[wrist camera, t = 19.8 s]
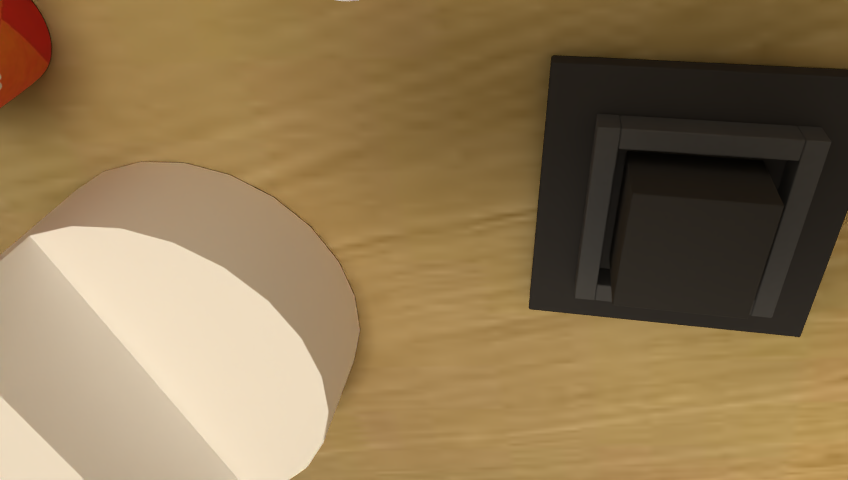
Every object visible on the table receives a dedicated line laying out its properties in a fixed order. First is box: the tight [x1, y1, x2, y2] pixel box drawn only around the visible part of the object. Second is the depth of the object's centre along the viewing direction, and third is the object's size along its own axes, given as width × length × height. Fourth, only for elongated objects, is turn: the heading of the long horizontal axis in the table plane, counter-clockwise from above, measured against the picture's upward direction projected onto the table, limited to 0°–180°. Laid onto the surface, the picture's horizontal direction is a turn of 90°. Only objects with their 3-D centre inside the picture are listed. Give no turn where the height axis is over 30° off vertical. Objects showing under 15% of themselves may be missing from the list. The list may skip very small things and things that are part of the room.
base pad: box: [529, 55, 848, 337], centre depth 34 cm, size 14×14×2 cm
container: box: [0, 162, 360, 480], centre depth 39 cm, size 20×20×13 cm
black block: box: [609, 152, 784, 319], centre depth 32 cm, size 6×6×4 cm
